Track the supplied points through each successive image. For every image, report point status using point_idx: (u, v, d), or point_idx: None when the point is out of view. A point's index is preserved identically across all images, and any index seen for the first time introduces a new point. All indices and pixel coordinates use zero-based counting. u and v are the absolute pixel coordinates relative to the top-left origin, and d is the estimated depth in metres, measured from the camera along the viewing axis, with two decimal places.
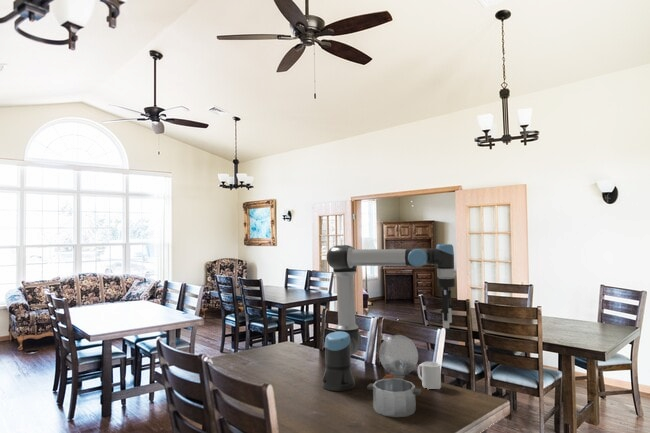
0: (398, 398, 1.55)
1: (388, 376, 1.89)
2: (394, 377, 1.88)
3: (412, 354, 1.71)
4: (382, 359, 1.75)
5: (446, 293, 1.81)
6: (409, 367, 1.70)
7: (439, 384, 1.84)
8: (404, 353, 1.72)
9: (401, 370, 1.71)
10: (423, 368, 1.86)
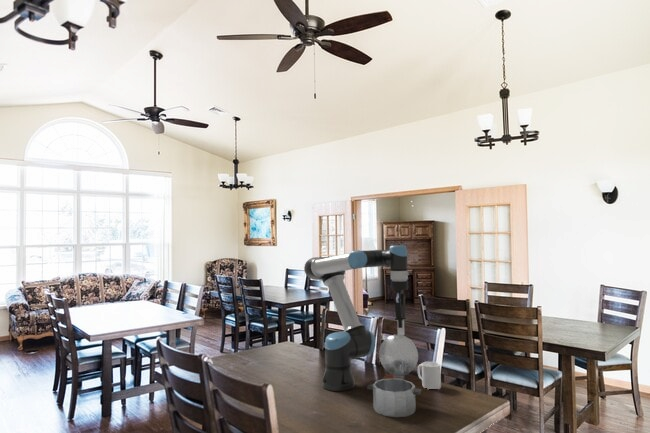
0: (398, 398, 1.55)
1: (388, 376, 1.89)
2: (394, 377, 1.88)
3: (412, 354, 1.71)
4: (382, 359, 1.75)
5: (398, 301, 1.75)
6: (409, 367, 1.70)
7: (439, 384, 1.84)
8: (404, 353, 1.72)
9: (401, 370, 1.71)
10: (423, 368, 1.86)
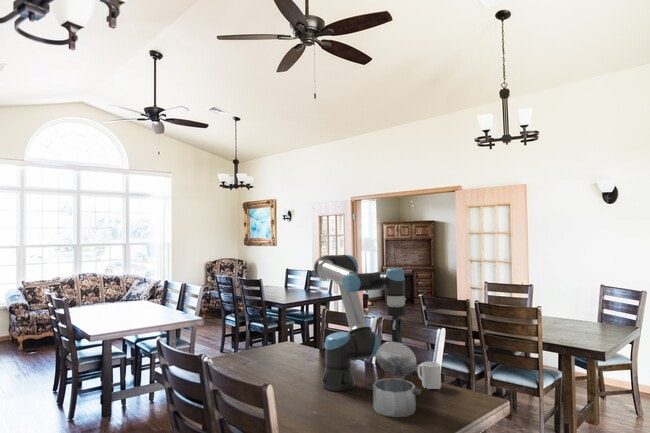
0: (398, 398, 1.55)
1: (389, 376, 1.89)
2: (395, 377, 1.88)
3: (410, 359, 1.66)
4: (380, 363, 1.72)
5: (395, 329, 1.67)
6: (408, 369, 1.68)
7: (439, 384, 1.84)
8: (402, 358, 1.67)
9: (400, 372, 1.70)
10: (423, 368, 1.86)
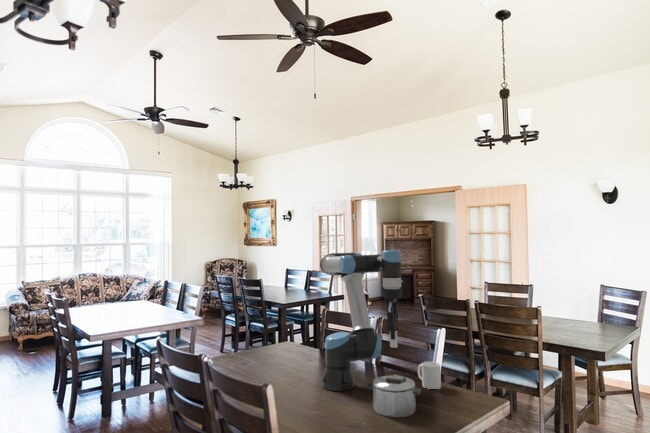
0: (398, 398, 1.55)
1: None
2: None
3: None
4: None
5: (391, 311, 1.62)
6: None
7: (439, 384, 1.84)
8: None
9: None
10: (423, 368, 1.86)
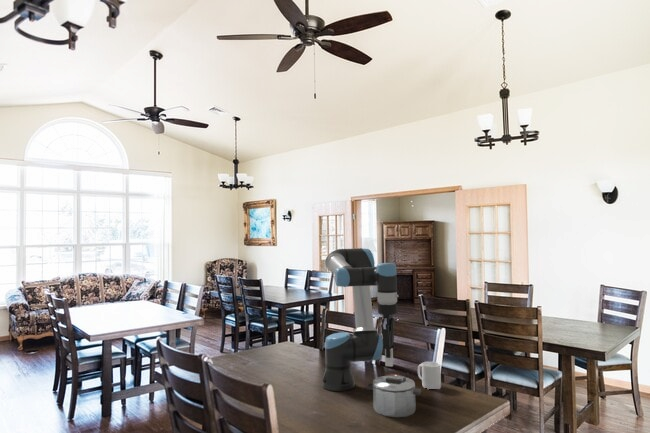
0: (398, 398, 1.55)
1: None
2: None
3: None
4: None
5: (386, 328, 1.53)
6: None
7: (439, 384, 1.84)
8: None
9: None
10: (423, 368, 1.86)
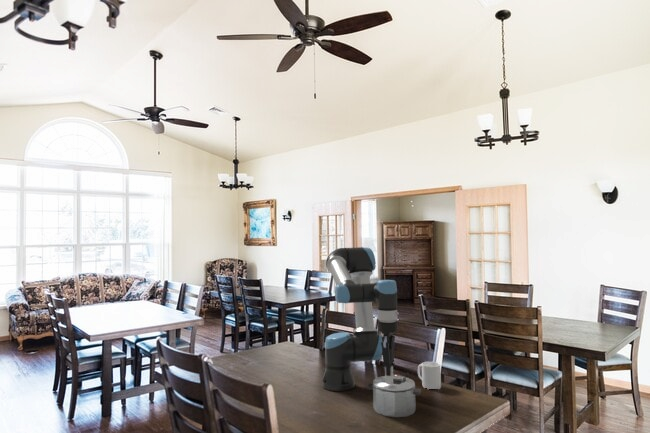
0: (398, 398, 1.55)
1: None
2: None
3: None
4: None
5: (386, 346, 1.52)
6: None
7: (439, 384, 1.84)
8: None
9: None
10: (423, 368, 1.86)
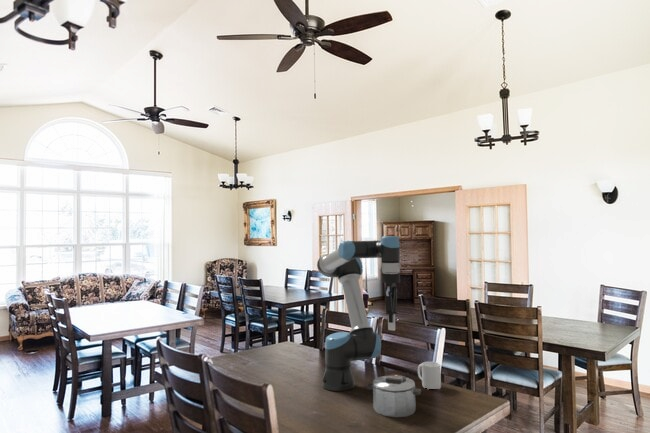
0: (398, 398, 1.55)
1: None
2: None
3: None
4: None
5: (389, 295, 1.66)
6: None
7: (439, 384, 1.84)
8: None
9: None
10: (423, 368, 1.86)
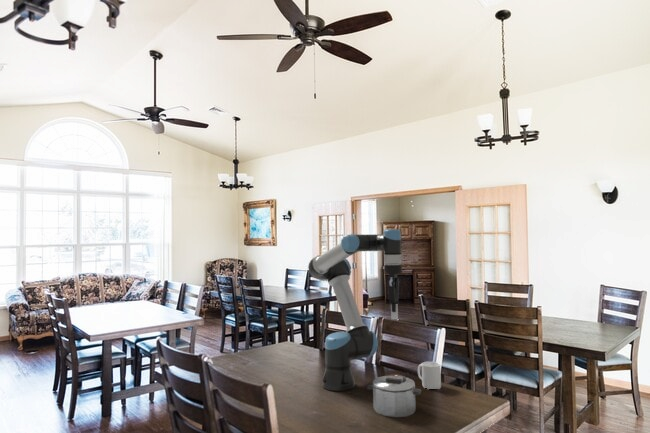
0: (398, 398, 1.55)
1: (390, 375, 1.90)
2: None
3: None
4: None
5: (392, 285, 1.74)
6: None
7: (439, 384, 1.84)
8: None
9: None
10: (423, 368, 1.86)
